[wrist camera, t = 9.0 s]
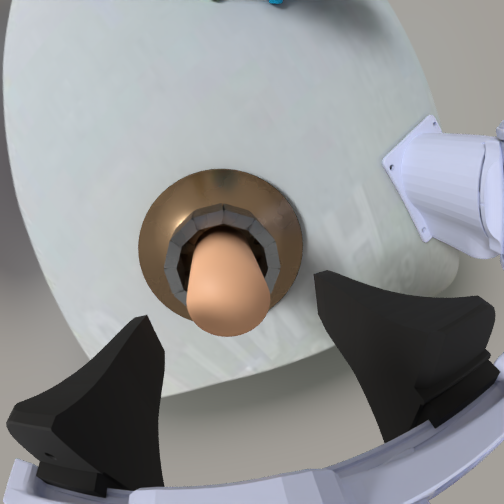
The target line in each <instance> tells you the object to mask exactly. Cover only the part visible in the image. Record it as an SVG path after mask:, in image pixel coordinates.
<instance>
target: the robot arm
mask: <svg viewBox="0 0 504 504" xmlns="http://www.w3.org/2000/svg"><path fill="white" fill-rule="evenodd" d="M433 123H434V125H433ZM496 133H497V137H494V136H484V135H470V134H453V133H442V131H441V129H440V127H439V125H438V123H437V121H436V119H435V117H434V116H433V115H428V116H427V117H426V118H425V119H424V120H423V121H422V122H421V123H419V124H418V125H417V126H416V127H415V128H414V129H413V130H412V131H411V132H410V133H409V134H408V135H407V136H406V137H405V138H404V139H403V140H402V141H401V142H400V143H399V144H398V145H396V146H395V147H394V148H393V149H392V150H391V151H390V152H389V153H388V154H387V155H386V156H385V157H384V158H383V159H382V165H383V167H384V169H385V170H386V172H387V174H388V175H389V177H390V179H391V180H392V182H393V184H394V186H395V187H396V189H397V191H398V193H399V195H400V197H401V198H402V200H403V202H404V204H405V206H406V208H407V210H408V212H409V214H410V216H411V218H412V220H413V222H414V224H415V226H416V228H417V230H418V232H419V235H420V237H421V239H422V241H424V242H428V241H429V240H430V239H431V238H432V237H434V238H436V239H438V240H440V241H442V242H444V243H446V244H448V245H450V246H452V247H454V248H456V249H458V250H460V251H462V252H464V253H466V254H467V255H469V256H471V257H474V258H478V259H489V258H494V257H496V256H498V255H500V262H501V266H502V268H503V270H504V120H503V121H502V122H501V123H500V125H499V126H498V127H497V128H496ZM390 165H391V166H392V169H391V170H390ZM422 229H423V230H422ZM314 280H315V289H316V298H317V308H318V315H319V317H320V319H321V321H322V323H323V325H324V327H325V329H326V331H327V333H328V334H329V336H330V337H331V339H332V340H333V342H334V343H335V345H336V346H337V348H338V349H339V350H340V352H341V353H342V355H343V356H344V358H345V359H346V361H347V362H348V364H349V365H350V367H351V368H352V370H353V372H354V374H355V375H356V377H357V379H358V381H359V383H360V385H361V387H362V389H363V391H364V394H365V396H366V398H367V400H368V402H369V405H370V407H371V409H372V412H373V414H374V416H375V419H376V421H377V424H378V426H379V429H380V432H381V434H382V437H383V440H384V443H385V444H383V445H381V446H378V447H376V448H374V449H372V450H370V451H367V452H365V453H363V454H360V455H358V456H355V457H353V458H351V459H348V460H345V461H342V462H340V463H337V464H334V465H331V466H328V467H326V468H322V469H305V470H299V471H295V472H288V473H282V474H277V475H273V476H268V477H263V478H259V479H252V480H247V481H240V482H233V483H225V484H217V485H205V486H189V487H188V486H187V487H164V482H163V476H162V470H161V462H160V453H159V438H158V416H159V406H160V399H161V392H162V385H163V378H164V371H165V351H164V349H163V347H162V345H161V343H160V341H159V339H158V337H157V335H156V333H155V331H154V329H153V326H152V324H151V322H150V320H149V318H148V316H147V315H145V316H140V317H135V318H134V319H132V320H131V321H130V322H129V323H128V324H127V325H126V326H125V327H124V328H123V329H122V330H121V331H120V332H119V333H118V334H117V335H116V336H115V337H114V338H113V339H112V340H111V341H110V342H109V343H108V344H107V345H106V346H105V347H104V348H103V349H102V350H101V351H100V352H99V353H98V354H97V355H96V356H95V357H94V358H92V359H91V360H90V361H89V362H88V363H87V364H86V365H84V366H83V367H82V368H81V369H79V370H78V371H77V372H75V373H74V374H73V375H71V376H70V377H68V378H67V379H65V380H64V381H62V382H61V383H59V384H58V385H56V386H54V387H53V388H51V389H49V390H47V391H45V392H43V393H41V394H39V395H37V396H34V397H32V398H29V399H27V400H24V401H22V402H19V403H17V404H16V405H15V406H14V408H13V410H12V412H11V414H10V416H9V418H8V420H7V422H6V424H7V428H8V430H9V432H10V434H11V435H12V436H13V437H14V439H15V440H17V442H18V443H19V444H20V445H22V446H23V447H24V448H25V449H26V450H27V451H28V452H30V453H31V454H32V455H33V456H34V457H35V458H37V459H38V460H39V461H40V463H39V467H38V466H36V465H34V464H32V463H30V462H27V461H24V460H21V459H18V458H16V459H15V462H14V465H13V468H12V471H11V474H10V477H9V480H8V484H7V488H6V491H5V495H4V499H3V502H4V503H5V504H430V503H429V500H430V499H432V498H434V497H435V496H437V495H438V494H439V493H441V492H443V491H444V490H445V489H447V488H448V487H450V486H451V485H452V484H454V483H455V482H456V481H458V480H459V479H460V478H462V477H463V476H464V475H466V474H467V473H468V472H469V471H470V470H472V469H473V468H474V467H475V466H476V465H478V464H479V463H480V462H481V461H482V460H483V459H484V458H486V457H487V456H488V455H489V454H490V453H491V452H492V451H493V450H494V449H495V448H496V447H497V446H498V445H499V444H500V443H501V442H502V441H503V440H504V352H503V353H502V354H501V355H500V356H499V357H498V358H497V360H496V361H495V362H494V364H492V363H491V362H490V361H489V360H488V359H489V358H490V356H491V355H490V353H489V352H488V351H487V350H486V349H485V348H486V346H487V343H488V341H489V338H490V335H491V332H492V329H493V326H494V322H495V310H494V307H493V306H492V305H490V304H489V303H488V302H486V301H485V300H483V299H482V298H481V297H479V296H470V297H459V298H431V297H420V296H412V295H405V294H400V293H395V292H391V291H387V290H383V289H380V288H376V287H373V286H370V285H367V284H364V283H361V282H358V281H356V280H353V279H350V278H348V277H345V276H343V275H340V274H337V273H335V272H332V271H328V270H326V271H323V272H319V273H316V274H314Z"/></svg>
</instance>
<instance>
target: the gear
mask: <svg viewBox="0 0 504 504" xmlns="http://www.w3.org/2000/svg"><path fill="white" fill-rule="evenodd" d="M269 3H276V4H278V3H283V0H269Z"/></svg>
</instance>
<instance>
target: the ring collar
mask: <svg viewBox="0 0 504 504" xmlns="http://www.w3.org/2000/svg"><path fill="white" fill-rule="evenodd" d="M223 225H224V226H230V227H233V228H235V229H237V230H239V231H240V232H241V233H242V234H243V235H244V236H245V237H246V239H247V241H248V243H249V245H250V247H251V250H252V252H253V254H254V256H255V259H256V261H257V263H258V265H259V268H260V270H261V272H262V274H263V277H264V279H265V281H266V283H267V286H268V288H269V292H270V306H269V309H270V308H272V307H273V306H274V305H275V304H276V303H277V302H279V301H280V300H281V299H282V298H283V296H284V295H285V294H286V293H287V292H288V290H289V288H290V287H291V285H292V284H293V282H294V280H295V278H296V276H297V273H298V270H299V267H300V264H301V259H302V249H303V242H302V233H301V229H300V225H299V222H298V219H297V217H296V214H295V213H294V211H293V209H292V207H291V205H290V204H289V203H288V201H287V200H286V199H285V197H284V196H283V195H282V194H281V193H280V192H279V191H278V190H277V189H275V188H274V187H273V186H271V185H270V184H269V183H267V182H266V181H264V180H262V179H260V178H258V177H256V176H254V175H251V174H249V173H246V172H242V171H238V170H231V169H210V170H205V171H200V172H197V173H194V174H191V175H188V176H186V177H184V178H182V179H180V180H178V181H177V182H175V183H174V184H173V185H171V186H170V187H168V188H167V189H166V190H165V191H164V192H163V193H162V194H161V195H160V196H159V197H158V198H157V199H156V200H155V202H154V203H153V204H152V206H151V207H150V209H149V211H148V212H147V214H146V216H145V219H144V221H143V224H142V227H141V231H140V235H139V243H138V250H139V261H140V266H141V269H142V272H143V275H144V278H145V280H146V282H147V284H148V286H149V287H150V289H151V290H152V292H153V293H154V294H155V296H156V297H157V298H158V299H159V300H160V301H161V302H162V303H163V304H164V305H165V306H166V307H168V308H169V309H170V310H172V311H173V312H175V313H176V314H178V315H180V316H182V317H184V318H186V319H189V320H191V321H193V320H192V318H191V317H190V315H189V312H188V309H187V303H186V301H187V291H188V284H189V277H190V271H191V264H192V258H193V252H194V246H195V243H196V241H197V239H198V238H199V236H200V235H201V234H202V233H203V232H204V231H206V230H207V229H209V228H212V227H215V226H223Z"/></svg>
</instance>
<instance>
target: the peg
mask: <svg viewBox="0 0 504 504" xmlns="http://www.w3.org/2000/svg"><path fill="white" fill-rule="evenodd" d="M186 303H187V309H188V312H189V315H190V317H191V318H192V320H193V321H194V322H195V324H196V325H197V326H198V327H200V328H201V329H202V330H204V331H206V332H208V333H210V334H213V335H217V336H224V337H230V336H238V335H241V334H244V333H247V332H249V331H251V330H252V329H254V328H255V327H256V326H258V325H259V324H260V323H261V322H262V321H263V319H264V318H265V316H266V314H267V312H268V310H269V306H270V292H269V288H268V286H267V283H266V281H265V279H264V277H263V274H262V272H261V270H260V268H259V265H258V263H257V261H256V259H255V256H254V254H253V252H252V250H251V247H250V245H249V243H248V241H247V239H246V237H245V236H244V235H243V234H242V233H241V232H240V231H239V230H237V229H235V228H233V227H230V226H224V225H223V226H215V227H212V228H209V229H207V230H206V231H204V232H203V233H202V234H201V235H200V236H199V238H198V239H197V241H196V243H195V246H194V252H193V258H192V264H191V271H190V277H189V284H188V291H187V301H186Z"/></svg>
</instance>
